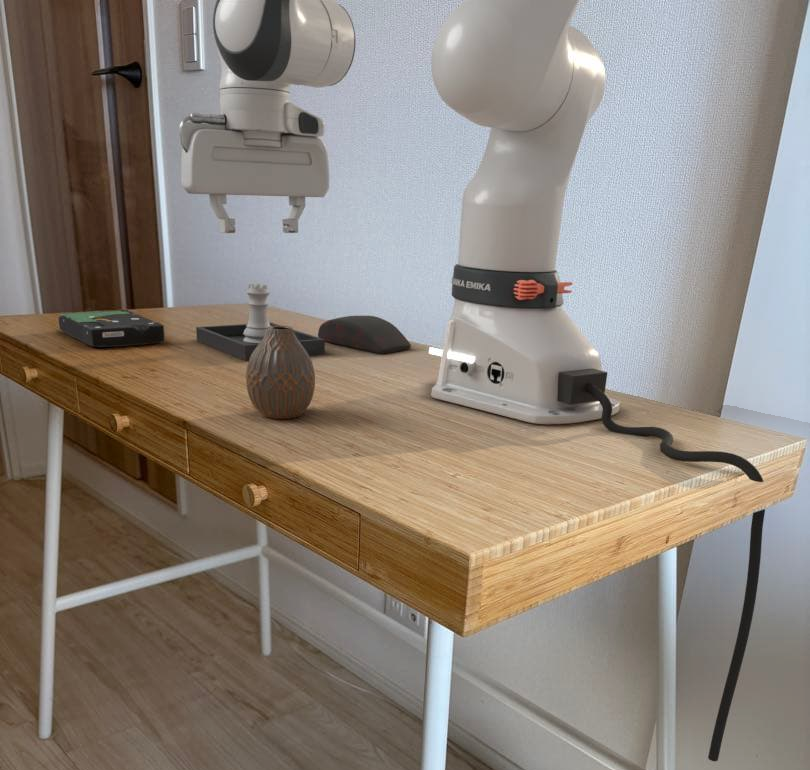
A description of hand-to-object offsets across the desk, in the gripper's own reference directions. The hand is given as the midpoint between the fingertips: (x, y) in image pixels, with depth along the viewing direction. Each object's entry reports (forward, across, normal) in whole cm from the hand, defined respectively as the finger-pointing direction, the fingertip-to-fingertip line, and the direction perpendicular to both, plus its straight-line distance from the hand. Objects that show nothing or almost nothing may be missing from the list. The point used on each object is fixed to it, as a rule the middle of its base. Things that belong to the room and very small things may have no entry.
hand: (259, 233), depth 112 cm
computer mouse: (+16, +15, -3) cm, 22 cm away
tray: (+15, 0, +1) cm, 15 cm away
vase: (+16, -15, -32) cm, 39 cm away
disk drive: (+15, -16, +15) cm, 27 cm away
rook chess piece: (+15, 0, +1) cm, 15 cm away
